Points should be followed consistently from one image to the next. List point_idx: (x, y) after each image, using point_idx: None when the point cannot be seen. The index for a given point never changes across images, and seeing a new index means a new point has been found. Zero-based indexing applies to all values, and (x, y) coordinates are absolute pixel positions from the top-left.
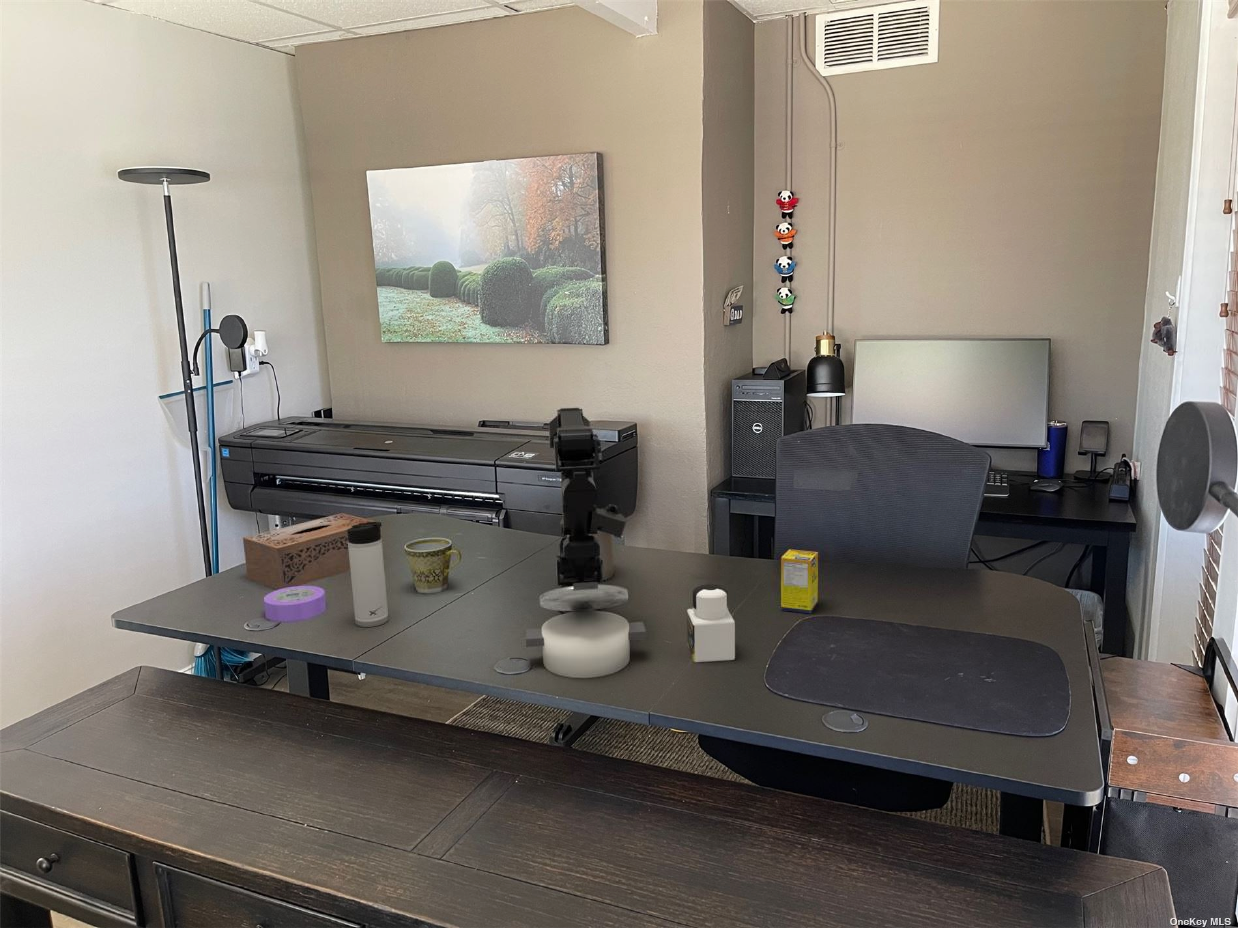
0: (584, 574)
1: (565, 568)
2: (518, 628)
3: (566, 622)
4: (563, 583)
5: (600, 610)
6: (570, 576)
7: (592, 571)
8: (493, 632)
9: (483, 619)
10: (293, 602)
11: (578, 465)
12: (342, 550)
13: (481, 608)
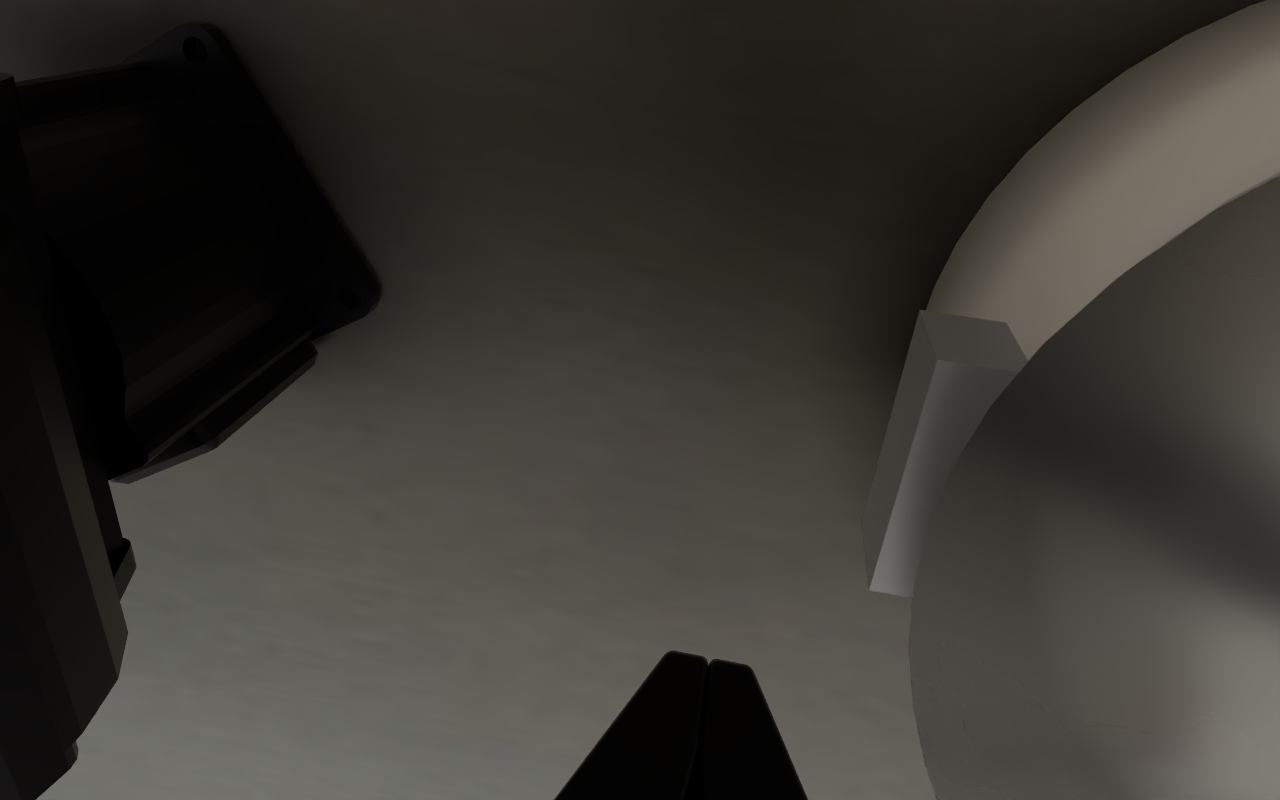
0: (801, 787)
1: (66, 717)
2: (500, 668)
3: None
4: (108, 525)
5: (219, 32)
6: (105, 551)
7: (8, 297)
8: (535, 784)
9: (326, 784)
10: None
11: None
12: None
13: (156, 761)
